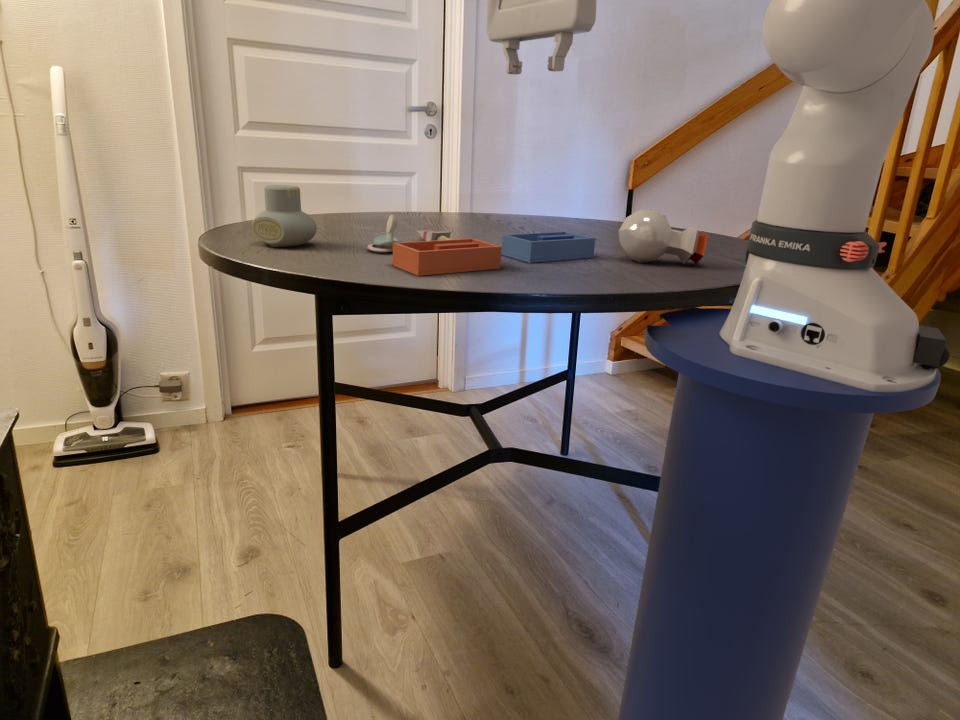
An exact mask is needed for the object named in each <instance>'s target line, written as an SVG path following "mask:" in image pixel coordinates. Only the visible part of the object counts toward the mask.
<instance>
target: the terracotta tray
mask: <svg viewBox="0 0 960 720" xmlns="http://www.w3.org/2000/svg"><path fill="white" fill-rule="evenodd" d="M467 242H475V243H478V244H479V247H474V248H459V249H443V250H434V244H450V243H467ZM501 252H502V245H499V244H495V243H491V242H488V241H483V240H480V239H477V238H455V239H454V238H453V239H452V238H451V240H434V241H425V240H417V241H402V242H398V243H393V252H392V266H393V267H395V268H398V269H401V270H403V271H405V272H408V273H410V274H412V275H415V276H417V277H422V276H433V275H445V274H457V273H467V272H468V273H469V272H476V271H477V272H479V271H487V270H489V271H490V270H500V269H501V263H502V255H501Z"/></svg>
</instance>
